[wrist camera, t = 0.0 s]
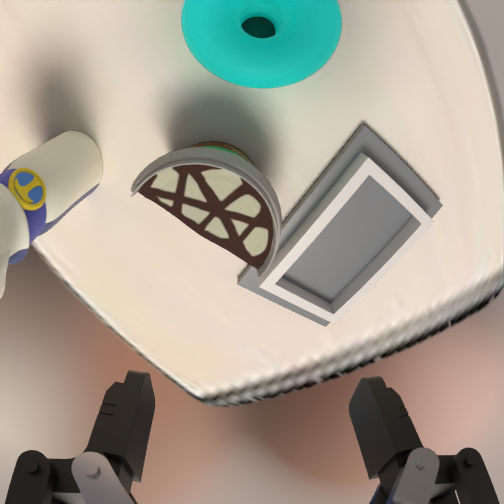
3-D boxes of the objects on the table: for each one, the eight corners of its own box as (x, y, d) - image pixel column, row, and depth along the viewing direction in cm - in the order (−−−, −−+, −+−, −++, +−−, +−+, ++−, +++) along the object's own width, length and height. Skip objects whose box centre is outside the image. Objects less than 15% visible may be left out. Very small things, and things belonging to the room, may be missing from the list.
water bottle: (75, 108, 24) (-143, 233, 3) (120, 171, 28) (-44, 377, 7) (32, 156, 26) (-132, 296, 5) (73, 211, 30) (-57, 391, 9)
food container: (298, 179, 29) (321, 227, 21) (258, 222, 32) (264, 282, 23) (196, 103, 25) (172, 116, 16) (159, 154, 27) (124, 192, 19)
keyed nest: (361, 124, 26) (373, 129, 23) (438, 201, 30) (451, 213, 28) (237, 278, 35) (237, 295, 33) (324, 321, 40) (328, 337, 37)
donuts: (357, -31, 11) (331, 104, 16) (320, 1, 19) (301, 94, 24) (194, -59, 10) (165, 79, 15) (210, -17, 18) (192, 79, 23)
